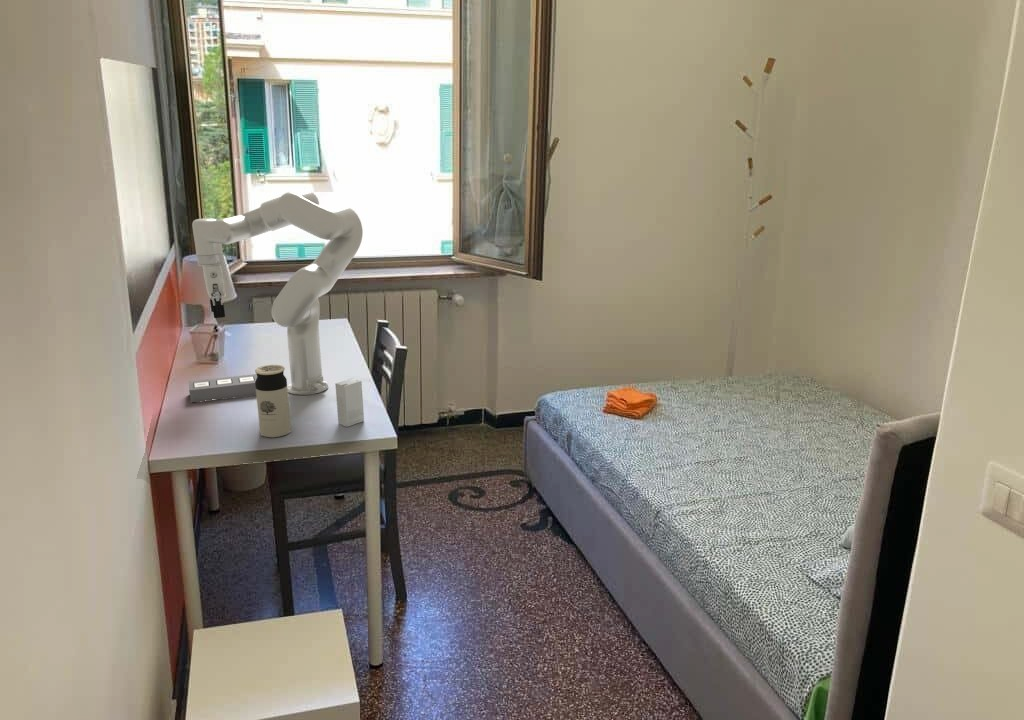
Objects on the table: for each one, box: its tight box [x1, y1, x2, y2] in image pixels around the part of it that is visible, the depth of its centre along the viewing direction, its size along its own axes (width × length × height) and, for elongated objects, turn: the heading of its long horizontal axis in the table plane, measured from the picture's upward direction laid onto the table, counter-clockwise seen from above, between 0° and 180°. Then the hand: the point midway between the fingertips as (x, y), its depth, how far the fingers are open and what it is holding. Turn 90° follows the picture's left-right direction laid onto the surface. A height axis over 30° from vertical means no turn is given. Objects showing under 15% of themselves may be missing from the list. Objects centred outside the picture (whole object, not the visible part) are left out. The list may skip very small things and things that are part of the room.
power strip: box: [188, 373, 257, 403], centre depth 238 cm, size 21×9×4 cm, turn 112°
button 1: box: [194, 382, 209, 388], centre depth 236 cm, size 4×4×3 cm
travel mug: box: [254, 364, 292, 438], centre depth 206 cm, size 8×8×18 cm
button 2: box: [239, 377, 254, 382], centre depth 240 cm, size 4×4×3 cm
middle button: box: [217, 379, 232, 385], centre depth 238 cm, size 4×4×3 cm
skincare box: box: [335, 377, 365, 428], centre depth 214 cm, size 6×4×12 cm
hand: (218, 314), depth 242 cm, fingers open, 9 cm apart
